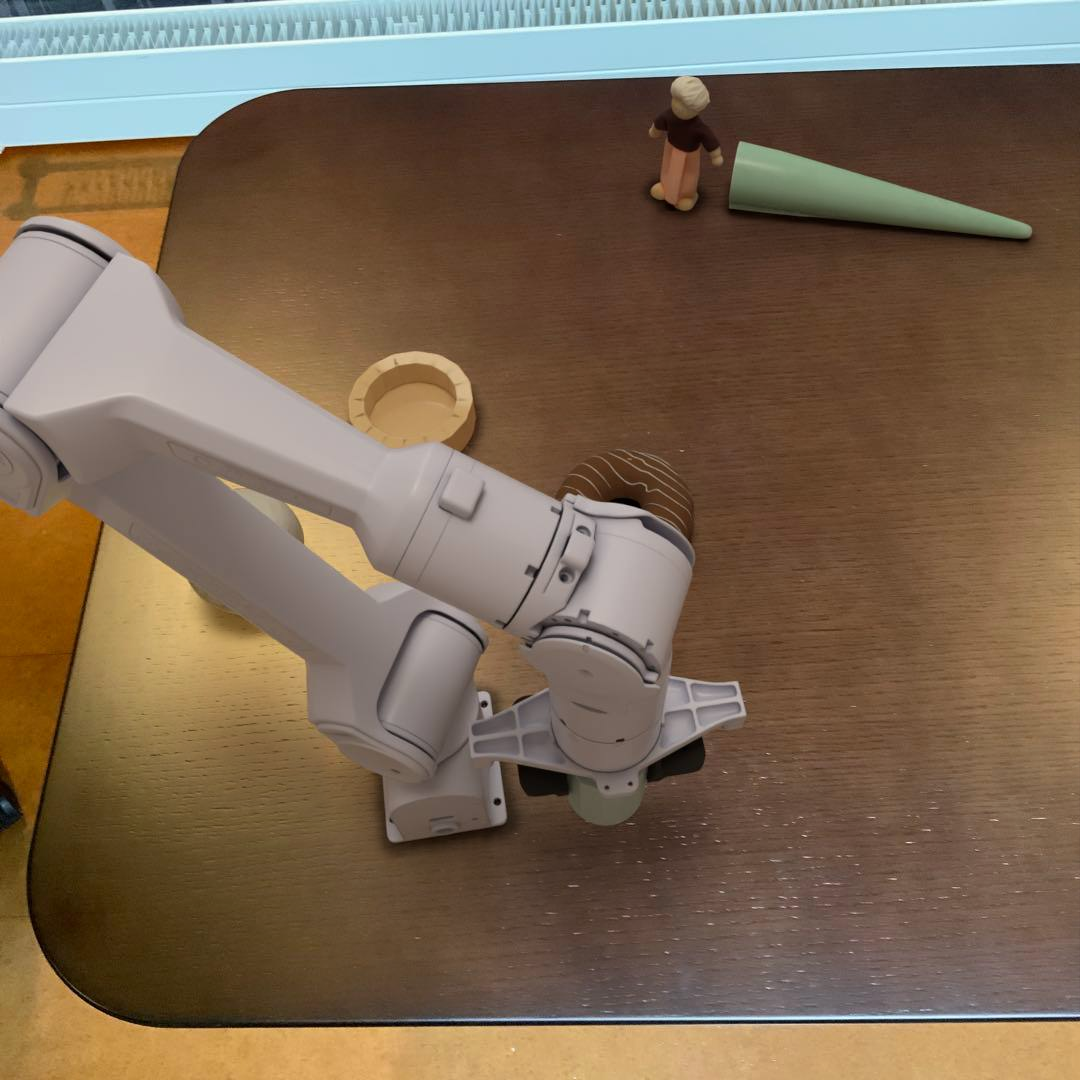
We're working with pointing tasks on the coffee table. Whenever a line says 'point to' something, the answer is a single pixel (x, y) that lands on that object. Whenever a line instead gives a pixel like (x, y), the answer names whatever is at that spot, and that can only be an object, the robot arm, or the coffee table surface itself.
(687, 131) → the grandmother figurine
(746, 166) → the mint green cone
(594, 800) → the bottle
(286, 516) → the decorative object
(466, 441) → the holder
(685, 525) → the donut
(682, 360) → the coffee table surface
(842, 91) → the coffee table surface
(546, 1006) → the coffee table surface
